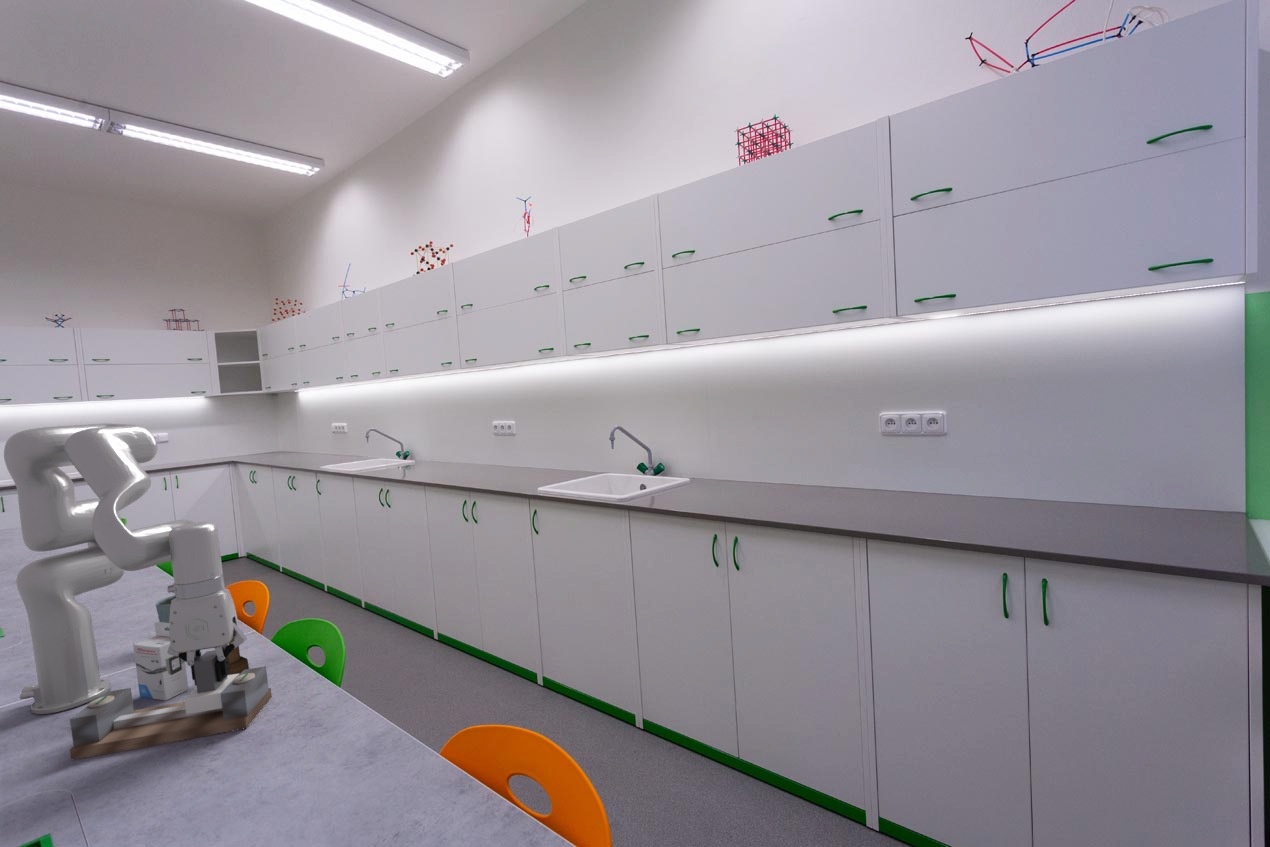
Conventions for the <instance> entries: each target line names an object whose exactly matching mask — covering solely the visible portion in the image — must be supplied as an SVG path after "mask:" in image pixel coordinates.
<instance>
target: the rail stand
mask: <svg viewBox="0 0 1270 847" xmlns="http://www.w3.org/2000/svg"><path fill="white" fill-rule="evenodd" d="M272 697H273V695H272V688H271V687H269V682H268V673H267V667H266V666H260V667H253V668H249V669H246V670H243V671H242V672H241V674H240V675H239V676H238V677H236V678H235V679H234V680H233V682H232V683H231V684H230V685H229V686H228V687H227V688H226V689H225V690H224V691H223V692H222V693H221V701H222V708H221V709H215V710H209V711H204V712H198V713H192V714H186V709H185V701H182V702H176V703H171V704H164V705H159V706H158V705H157V706H152V707H145V708H142V709H135V708H134V702H133V695H132V687H128V688H123V689H115V690H110V691H107V692H106V693H105V694H103V695H102V696H100V697H98V698H96V699H94V700H92V701H90V702H88V703H87V704H88V705H87V706H86V707H84V708H83V709H81V710H80V711H79V712H77V713H76V714H74V715H73V716H72V717H71V718H70V719H69V723H70V729H71V736H72V744H73V745H72V746H71V748H69V755H70V760H71V759H75V760H77V759H76V758H81V759H84V758H83V757H86V758H89V757H88V756H92V757H96V756H95V755H97V756H102V754H103V755H107V754H108V753H109V754H113V753H119V752H124V751H131V750H135V749H140V748H141V749H142V748H147V747H152V746H158V745H163V744H164V743H165V744H169V743H175V742H174V741H176V742H180V741H179V740H181V741H185V740H184V739H187V740H191V739H190V738H193V739H197V738H203V736H204V737H208V735H209V736H214V735H213V734H215V735H218V734H217V733H221V734H223V733H222V732H226V733H228V732H227V731H232V730H237V729H243V728H247V727H248V728H249V726H250V725H251V724H252V723H253V721H254V720H255V719H256V718H257V716H258V715H259V714H260V713H261V711H262V710H263V709H264V707H265V706H266V705H267V704H268V703H269V701H270V700H271V699H272ZM270 698H271V699H270ZM269 699H270V700H269ZM268 700H269V701H268ZM266 703H267V704H266ZM265 704H266V705H265ZM264 705H265V706H264ZM263 706H264V707H263ZM262 708H263V709H262ZM261 709H262V710H261ZM260 710H261V711H260ZM259 712H260V713H259ZM258 713H259V714H258ZM257 714H258V715H257ZM256 715H257V716H256ZM255 717H256V718H255ZM254 718H255V719H254ZM253 719H254V720H253ZM252 720H253V721H252ZM251 722H252V723H251ZM250 723H251V724H250ZM249 724H250V725H249ZM248 725H249V726H248ZM248 728H247V729H248ZM243 730H244V729H243ZM237 731H238V730H237ZM232 732H233V731H232Z"/></svg>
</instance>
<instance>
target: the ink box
mask: <svg viewBox="0 0 1270 847" xmlns="http://www.w3.org/2000/svg"><path fill="white" fill-rule="evenodd" d="M167 627H168V628H169V623H163V622H159V621H156V622H154V629H155V633H156V635H154V636H151V637H149V638H146V639H144V640H141V641H137V642H136V643H133V645H132V646H133V654H134V660H135V669H136V677H137V684H138V692H139V697H142V698H147V699H154V700H159V701H169V700H170V699H172V698H174V697H177V696H178V695H180V694H182V693H185V692H186V690H187V691H188V690H189V683H188V675H187V666H186V665H187V664H186V661H184V660H182V659H181V658H179V656H174V655H170V654H168V653H167V651H168V649H169V646H170V634H169V631H165V630H164V628H167Z"/></svg>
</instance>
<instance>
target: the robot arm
mask: <svg viewBox="0 0 1270 847" xmlns="http://www.w3.org/2000/svg"><path fill="white" fill-rule="evenodd" d="M157 453H158V442H157V440H156V437H155V436H154V434H153V433H152V431H150V430H149V429H147V428H146V427H144V426H141V425H139V424H124V423H123V424H121V423H91V424H88V423H87V424H79V425H77V424H75V425H57V426H47V427H46V426H44V427H36V428H31V429H24V430H21V431H18V432H16V433H14V434H13V435H11V436H10V437H9V438H8V439H7V440H6V442H5V445H4V449H3V458H4V464H5V466H6V469H7V471H8V473H9V475H10V477H11V479H12V480H13V482H14V485H15V488H16V491H17V499H18V500H17V502H18V509H19V518H20V520H19V521H20V528H21V535H22V539H23V542H24V545H25V546H26V548H27V549H29V550H30V551H33V552H38V553H39V552H40V553H41V552H51V551H56V550H60V549H66V548H70V547H75V546H79V545H84V544H87V546H88V547H86V548H85V547H84V548H81V549H78V550H73V551H68V552H64V553H59V554H55V555H52V556H48V557H43V558H41V559H40V558H39V559H37V560H34V561H32V562H30V563H28V564H27V565H25V566H24V567H22V568H21V569H20V570H19V572H18V573H17V576H16V587H17V591H18V593H19V595H20V597H21V600H22V602H23V604H24V607H25V611H26V614H27V618H28V624H29V629H30V637H31V642H32V650H33V656H34V663H35V670H36V677H37V683H38V684H32V685H26V686H24V687H23V688H22V689H21V693H20V695H19V700H27V699H30V698H31V699H32V698H33V700H34V702H32V704H31V705H30V709H31V713H33V714H36V715H47V714H53V713H58V712H62V711H67V710H70V709H74V708H76V707H79V706H82V705H85V704H88V703H90V702H92V701H94V700H96V699H98V698H99V697H101V696H102V695H103V694H105V693H106V692H108V691H109V690H110V691H111V688H112V684H111V681H110V680H108V679H101V674H100V673H101V672H100V666H99V665H100V664H99V659H98V658H99V657H98V652H97V651H98V650H97V644H96V639H95V630H94V623H93V616H92V613H91V611H90V610H89V608H88V606H85V605H84V604H82V603H81V602H80V601H78V600H77V599H76V598H75V597H76V596H78V595H79V596H80V595H82V594H84V593H87V592H91V591H94V590H98V589H101V588H104V587H108V586H110V585H113V584H116V583H117V582H118V581H119V580H121V579H122V577H123V576H124V573H125V572H126V571H127V572H136V571H139V570H143V569H148V568H150V567H155V566H158V565H162V564H165V563H168V562H171V568H172V575H173V584H172V585H168V586H167V593H173V594H174V595H175V597H176V598H175V599H173V600H172V601H171V606H170V617H169V634H170V646H169V649H168V651H167V653H168V654H170V655H174V656H179V658H181V659H182V660H184V661H185V663H186V665H187V666H189V667H190V669H191V678H192V681H194V686H196V678H195V671H194V662H195V661H196V660H197V659H198V658H200V657H201V656H202V650H207V649H208V650H209V649H214V650H215V652H216V656H217V661H216V662H215V669H216V677H217V681H218V682H222V681H223V680H224V679H225V678H226V677H227V676H228V674H229V672H230V667H229V659H228V655H229V654H230V653H231V652H232V651H233V650H234V649H235V648H236V647H238V646H239V647H240V645H242V644H244V643H245V642H246V641H247V640H248V639H247V636H246V635H245V634H244V632H243V631H242V630H241V629H240V626H239V625H240V624H239V620H238V615H237V610H236V605H235V603H234V599H233V597H232V595H231V591H230V590H229V588H226V587H225V586H226V585H225V580H224V572H223V564H222V557H221V556H222V555H221V548H220V541H219V538H220V537H219V532H218V531H219V530H218V528H217V525H216V524H215V523H214V522H211V521H198V522H196V521H193V520H189V519H179V520H178V519H176V520H172V521H167V522H163V523H158V524H157V523H156V524H153V525H148V526H145V527H140V528H136V529H132V530H129V529H128V528H127V526H126V525H125V524H124V523H123V521H122V518H121V514H120V511H122V510H123V509H125V508H126V507H128V506H130V505H131V504H133V503H134V502H135V503H136V502H137V501H138V500H139V499H141V498H142V497H143V496H144V495H145V494H146V493H147V492H148V491H149V489H150V488H151V485H152V479H151V477H150V476H149V474H148V473H147V472H146V471H145V469H144V468H143V467H142V466H141V465H140V464H145V463H148V462H150V461H152V460H153V459H154V458H155V457H156V455H157ZM69 466H70V467H74V469H76V470H77V472H78V473H79V474H80V475H81V477H82V478H83V479H84V481H85V482H86V483H87V485H88V486H89V487H90V489H91V490H92V492H93V493H94V494H95V496H97V497H96V498H88V499H83V500H76V496H75V495H76V494H75V486H74V485H75V484H74V482H73V480H72V479H71V478H70V476H69V475H67V473H66V472H64V471H63V470H62V469H61V468H62V467H69ZM232 638H234V641H233V642H231V643H230V644H229V642H230V641H231V640H232ZM196 687H197V686H196Z"/></svg>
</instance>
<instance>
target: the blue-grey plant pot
mask: <svg viewBox="0 0 1270 847" xmlns="http://www.w3.org/2000/svg"><path fill="white" fill-rule="evenodd" d="M175 598H176V597H175V594H174V595H171V596H168V597H165V598H163V599H160V600H158V601H156V602H155V608H156V613H157V618H158V622H163V623H169V617H170V606H171V601H172V600H173V599H175ZM164 630H165V631H169V628H168V627H167V628H164Z"/></svg>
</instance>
